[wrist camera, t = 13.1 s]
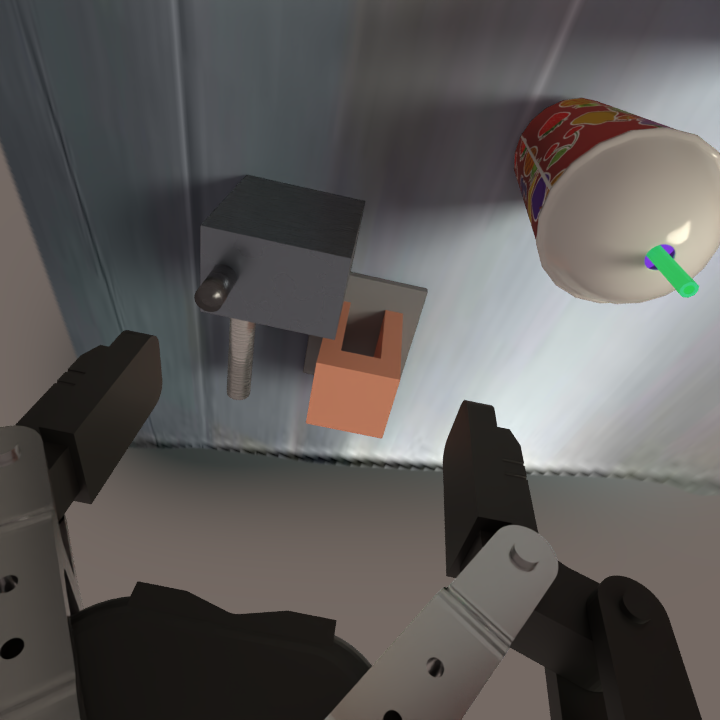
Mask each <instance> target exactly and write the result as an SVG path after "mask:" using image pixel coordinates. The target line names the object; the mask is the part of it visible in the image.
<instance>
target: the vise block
mask: <svg viewBox="0 0 720 720" xmlns="http://www.w3.org/2000/svg"><path fill="white" fill-rule="evenodd" d="M364 204H365V201H361V200H356V199H352V198H348V197H343V196H339V195H334V194H330V193H325V192H321V191H317V190H312V189H308V188H303V187H299V186H294V185H290V184H286V183H281V182H277V181H272V180H268V179H263V178H259V177H255V176H250V175H246V176H245V177H244V178H243V179H242V181H241V182H240V183H239V184H238V185H237V186H236V187H235V188H234V189H233V190H232V191H231V193H230V194H229V195H228V196H227V197H226V198H225V199H224V200H223V201H222V202H221V204H220V205H219V206H218V207H217V208H216V209H215V210H214V211H213V212H212V213H211V214H210V216H209V217H208V218H207V219H206V220H205V221H204V222H203V223H202V224H201V225H200V287H199V288H198V290H197V291H196V293H195V297H194V298H195V302H196V304H197V305H198V306H199V307H200V311H201V312H205V313H210V314H215V315H219V316H224V317H229V318H230V331H229V354H228V376H227V395H228V396H229V397H230V398H232V399H235V400H243V399H245V398H247V397H248V396H249V395H250V388H251V376H252V364H253V351H254V339H255V327H256V323H257V324H262V325H266V326H271V327H276V328H281V329H285V330H290V331H295V332H299V333H304V334H309V335H313V336H318V337H323V338H327V339H332V340H335V337H336V333H337V329H338V324H339V320H340V316H341V311H342V307H343V303H344V299H345V294H346V290H347V286H348V281H349V277H350V273H351V268H352V263H353V258H354V253H355V248H356V243H357V238H358V234H359V229H360V224H361V219H362V214H363V209H364Z"/></svg>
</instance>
